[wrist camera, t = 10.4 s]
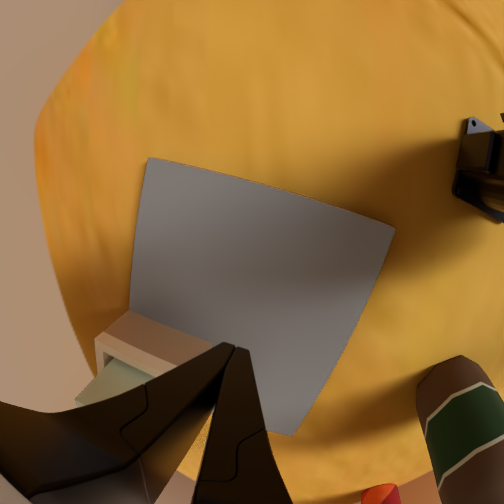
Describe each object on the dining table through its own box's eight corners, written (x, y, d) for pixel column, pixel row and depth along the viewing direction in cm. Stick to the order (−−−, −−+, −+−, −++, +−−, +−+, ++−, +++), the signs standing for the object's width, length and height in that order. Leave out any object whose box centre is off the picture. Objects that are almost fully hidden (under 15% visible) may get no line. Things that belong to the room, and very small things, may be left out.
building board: (391, 225, 18) (424, 249, 12) (293, 429, 25) (286, 476, 19) (154, 157, 20) (103, 157, 14) (132, 372, 27) (102, 408, 21)
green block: (175, 379, 19) (138, 435, 14) (170, 415, 21) (141, 466, 15) (118, 353, 20) (74, 398, 14) (120, 392, 21) (85, 435, 16)
